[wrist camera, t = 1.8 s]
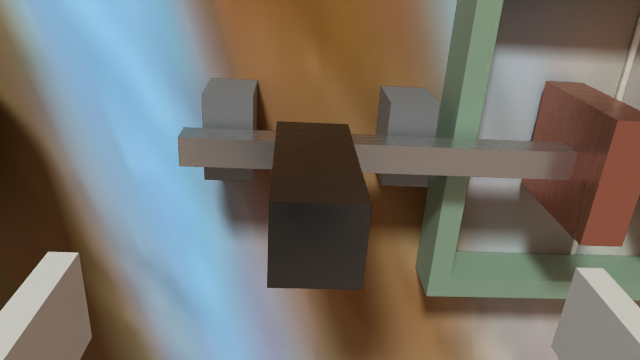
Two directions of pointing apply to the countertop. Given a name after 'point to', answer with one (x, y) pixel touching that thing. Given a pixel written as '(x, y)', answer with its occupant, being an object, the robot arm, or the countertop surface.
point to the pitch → (445, 191)
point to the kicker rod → (428, 159)
